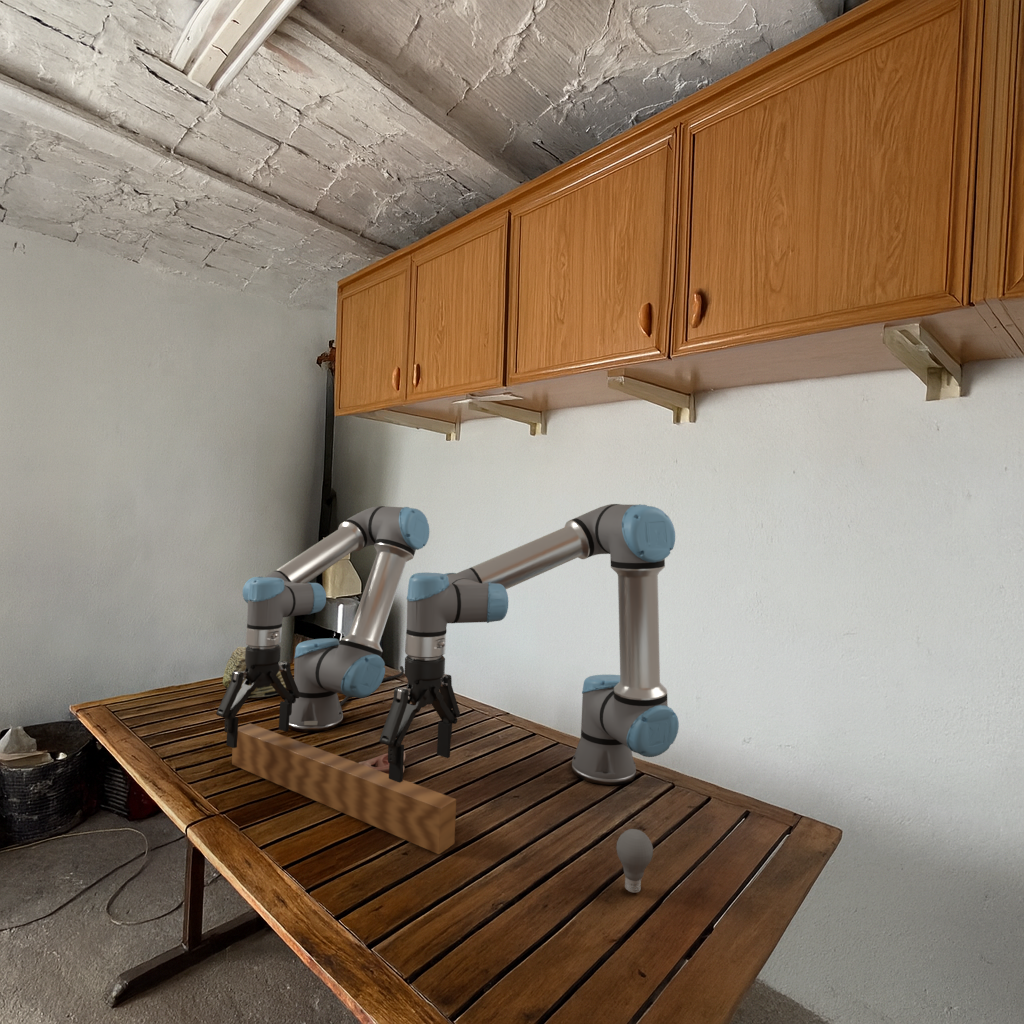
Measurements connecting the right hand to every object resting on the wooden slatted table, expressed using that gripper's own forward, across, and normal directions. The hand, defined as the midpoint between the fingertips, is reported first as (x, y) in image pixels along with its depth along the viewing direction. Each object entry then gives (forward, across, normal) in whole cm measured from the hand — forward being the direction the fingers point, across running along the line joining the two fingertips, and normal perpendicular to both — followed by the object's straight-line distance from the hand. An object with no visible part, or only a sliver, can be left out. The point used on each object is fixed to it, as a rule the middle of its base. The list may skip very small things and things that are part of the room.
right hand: (420, 767), depth 120 cm
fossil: (+13, +32, +95) cm, 101 cm away
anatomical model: (+13, +15, +26) cm, 33 cm away
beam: (+13, 0, +24) cm, 27 cm away
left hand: (+6, 0, +48) cm, 48 cm away
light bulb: (+13, +9, -40) cm, 43 cm away
